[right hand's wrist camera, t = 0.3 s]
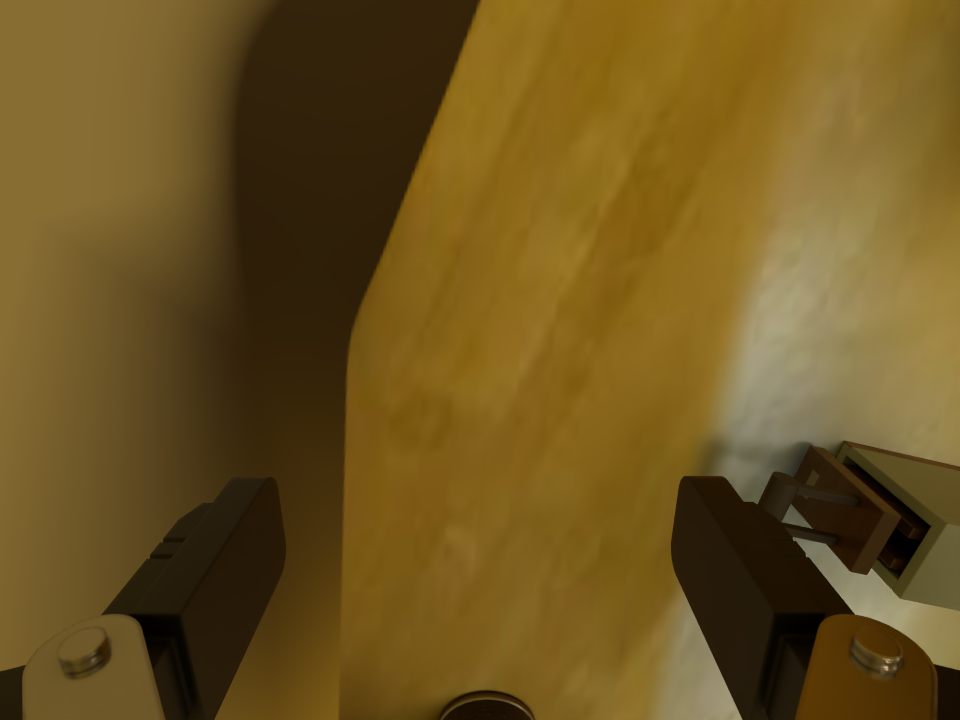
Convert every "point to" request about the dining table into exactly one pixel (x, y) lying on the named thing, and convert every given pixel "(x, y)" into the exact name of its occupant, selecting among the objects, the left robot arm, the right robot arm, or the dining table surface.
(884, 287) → the dining table surface
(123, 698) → the right robot arm
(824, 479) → the drawer
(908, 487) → the cabinet
